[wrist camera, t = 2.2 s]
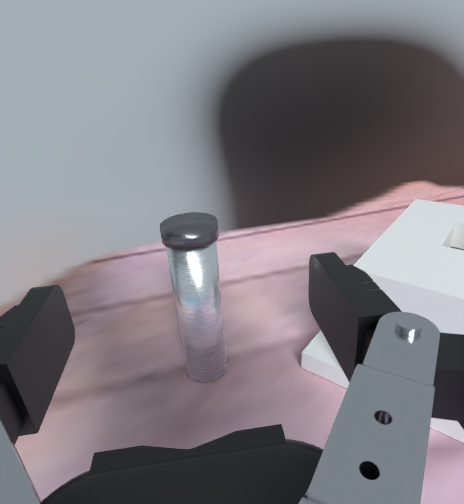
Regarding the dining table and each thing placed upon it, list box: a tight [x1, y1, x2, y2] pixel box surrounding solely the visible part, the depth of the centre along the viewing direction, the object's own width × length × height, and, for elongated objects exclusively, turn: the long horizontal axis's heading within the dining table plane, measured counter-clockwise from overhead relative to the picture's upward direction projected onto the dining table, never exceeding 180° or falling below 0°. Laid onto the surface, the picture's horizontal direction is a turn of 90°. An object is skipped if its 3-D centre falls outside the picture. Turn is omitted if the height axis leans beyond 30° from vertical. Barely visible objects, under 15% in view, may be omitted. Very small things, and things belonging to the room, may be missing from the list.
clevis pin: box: [160, 213, 227, 383], centre depth 26 cm, size 4×4×12 cm
